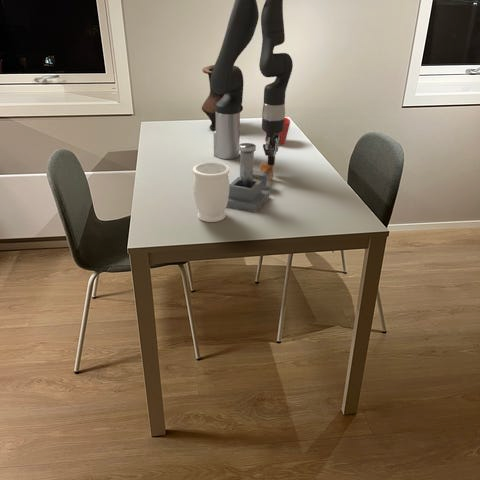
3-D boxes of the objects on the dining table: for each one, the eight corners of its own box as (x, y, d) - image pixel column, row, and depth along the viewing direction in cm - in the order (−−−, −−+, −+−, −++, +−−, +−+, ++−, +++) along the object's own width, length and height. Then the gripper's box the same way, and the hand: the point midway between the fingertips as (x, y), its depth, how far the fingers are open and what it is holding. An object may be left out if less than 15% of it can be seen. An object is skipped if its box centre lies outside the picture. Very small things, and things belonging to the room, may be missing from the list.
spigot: (234, 196, 149) (236, 146, 142) (240, 190, 153) (242, 142, 146) (250, 199, 148) (252, 149, 140) (255, 193, 152) (258, 144, 144)
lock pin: (261, 176, 169) (261, 163, 167) (272, 178, 168) (273, 164, 165) (248, 189, 159) (248, 174, 157) (260, 191, 158) (261, 176, 155)
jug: (242, 135, 212) (243, 63, 197) (200, 134, 212) (198, 63, 197) (242, 122, 230) (244, 56, 216) (204, 121, 230) (203, 55, 216)
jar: (194, 208, 146) (192, 161, 139) (228, 208, 147) (228, 161, 140) (194, 224, 137) (192, 175, 129) (230, 224, 138) (230, 174, 130)
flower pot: (281, 148, 198) (283, 124, 193) (258, 143, 203) (259, 120, 198) (293, 141, 206) (294, 119, 201) (270, 137, 211) (271, 114, 206)
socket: (219, 205, 149) (219, 187, 146) (234, 191, 158) (234, 173, 155) (256, 212, 145) (256, 193, 142) (269, 197, 155) (270, 179, 152)
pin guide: (246, 187, 161) (246, 173, 158) (250, 183, 164) (250, 169, 161) (265, 191, 159) (266, 176, 156) (269, 187, 162) (270, 172, 159)
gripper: (269, 110, 168) (266, 158, 176) (256, 120, 157) (254, 170, 165) (289, 113, 165) (286, 161, 174) (278, 122, 155) (275, 173, 163)
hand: (270, 165), depth 170 cm, fingers closed
